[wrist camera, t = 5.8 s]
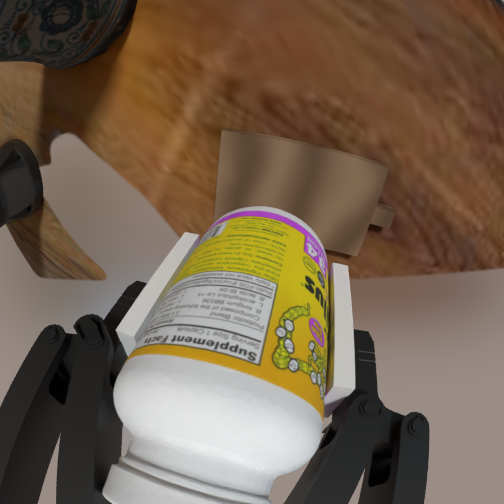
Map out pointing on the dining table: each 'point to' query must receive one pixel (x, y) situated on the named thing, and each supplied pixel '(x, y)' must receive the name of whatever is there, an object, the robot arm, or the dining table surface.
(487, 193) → the dining table surface
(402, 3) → the dining table surface
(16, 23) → the beer stein
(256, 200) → the walnut board
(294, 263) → the supplement bottle
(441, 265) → the dining table surface
